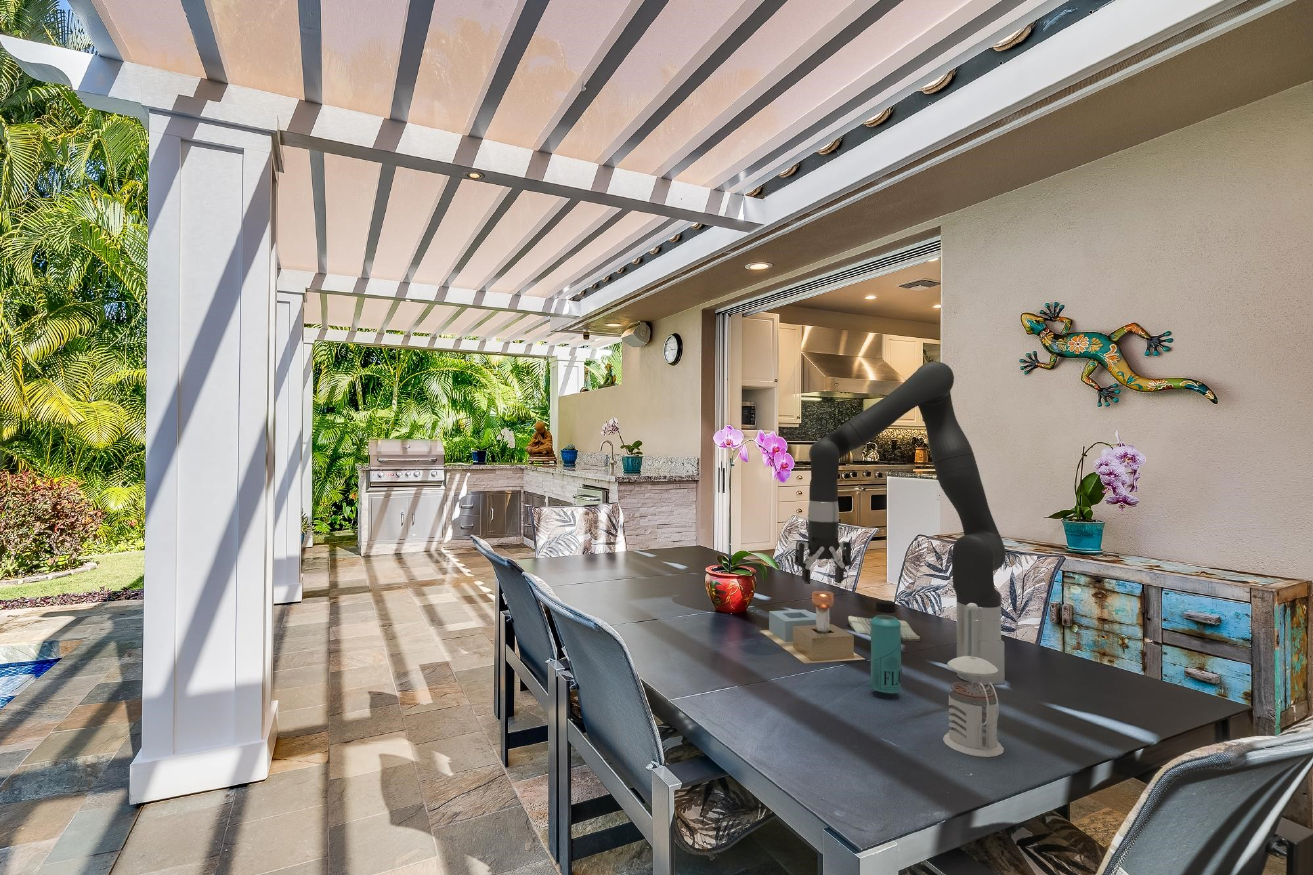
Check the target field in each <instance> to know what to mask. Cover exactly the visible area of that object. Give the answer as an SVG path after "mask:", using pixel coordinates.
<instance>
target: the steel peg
mask: <svg viewBox="0 0 1313 875" xmlns="http://www.w3.org/2000/svg"><path fill="white" fill-rule="evenodd" d="M811 606H813V607H815V615H816V632H817V633H818V634H824V633H829V624H830V608H833V607H834V593H833V592H832V591H827V590H813V591H812V594H811Z"/></svg>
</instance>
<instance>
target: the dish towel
mask: <svg viewBox="0 0 1313 875" xmlns="http://www.w3.org/2000/svg"><path fill="white" fill-rule="evenodd" d="M872 619H873V618H869V617H868V618H867V617H861V616H860V617H859V616H853V615H849V616H848V617H847V620H848V623H849V626H850V628H851V629H853V630H854V631H855V633H856V634H865V635H867V636H869V637H871V623H870V621H871V620H872ZM898 620H899V622H900V623H901V635H902V636H901V641H902V642H915V641H920V642H921V639H920V638H921V637H920V636H919V635H917V633H916V632H915V631H914V630H913V629H912V627H911V626H910V624H909V623H908V622H907V621H906V620H900V619H898Z"/></svg>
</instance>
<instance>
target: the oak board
mask: <svg viewBox="0 0 1313 875" xmlns="http://www.w3.org/2000/svg"><path fill="white" fill-rule="evenodd" d="M759 634H763V635H765V637H768V638H769V639H770V640H772V641H773V642H774V643H776V644H777V645H778V646H780V647H781V648H783V649H784V650H786V652H788V653H789V654H791V655H792V656H794V657H795V658H797V659H798V660H799V661H800V662H802V663H803V664H814V663H815V664H817V663H818V664H819V663H828V662H829V663H832V662H843V661H844V662H845V661H858V660H859V661H860V660H862V661H863V660H865V658H864V657H862V656H861V655H859V654H857V653H856V652H854V658H852V659H838V660H823V661H811V660H810V659H808V658H807V657H806V656H804V655H803V654H801V653H800V652H798V651H797V650H796V649H794V648H793V642H784V641H783V640H781V639H780V638H778V637H777V636H776V635H774V634H773V633H771V632H770V631H769V629H763V630H760V629H759Z"/></svg>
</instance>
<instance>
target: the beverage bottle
mask: <svg viewBox="0 0 1313 875" xmlns="http://www.w3.org/2000/svg"><path fill="white" fill-rule="evenodd" d="M874 608H875V611H876V612H878V613H882V614H877V615H875V616H874V617H872V618H871V619H872V620H871V621H870V623H871V636H870V662H869V665H870V670H869V673H870V678H869V679H870V685H871V686H870V687H871V688H872V689H873V690H874V691H877V692H879V693H883V694H884V693H885V694H898V693H899V692H901V690H902V687H903V686H902V684H903V683H902V678H903V669H902V662H903V661H902V655H903V653H902V645H903V641H901V636H902V635H901V623H900V622H899V620H900V619H898V618H897V617H895V616H892V615H888V614H894V613H896V612H897V611H896V610H897V608H896V602H894V601H893V600H888V599H887V600H886V599H879V600H876V601H875V607H874Z"/></svg>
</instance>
